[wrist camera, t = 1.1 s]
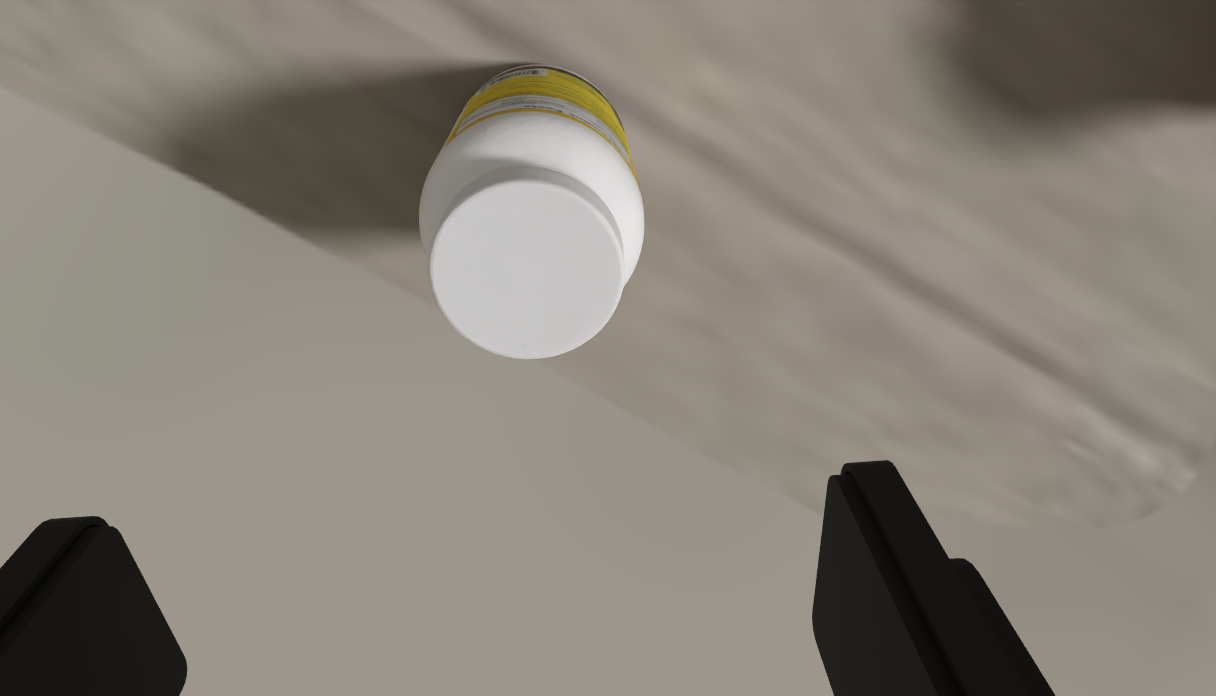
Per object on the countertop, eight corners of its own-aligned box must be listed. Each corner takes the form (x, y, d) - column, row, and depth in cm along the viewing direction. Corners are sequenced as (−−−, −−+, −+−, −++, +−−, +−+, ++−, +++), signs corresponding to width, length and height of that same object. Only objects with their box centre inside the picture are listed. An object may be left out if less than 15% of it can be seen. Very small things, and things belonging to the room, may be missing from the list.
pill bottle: (558, 260, 29) (551, 427, 20) (423, 163, 27) (343, 299, 18) (662, 135, 27) (709, 258, 18) (523, 20, 25) (492, 87, 15)
